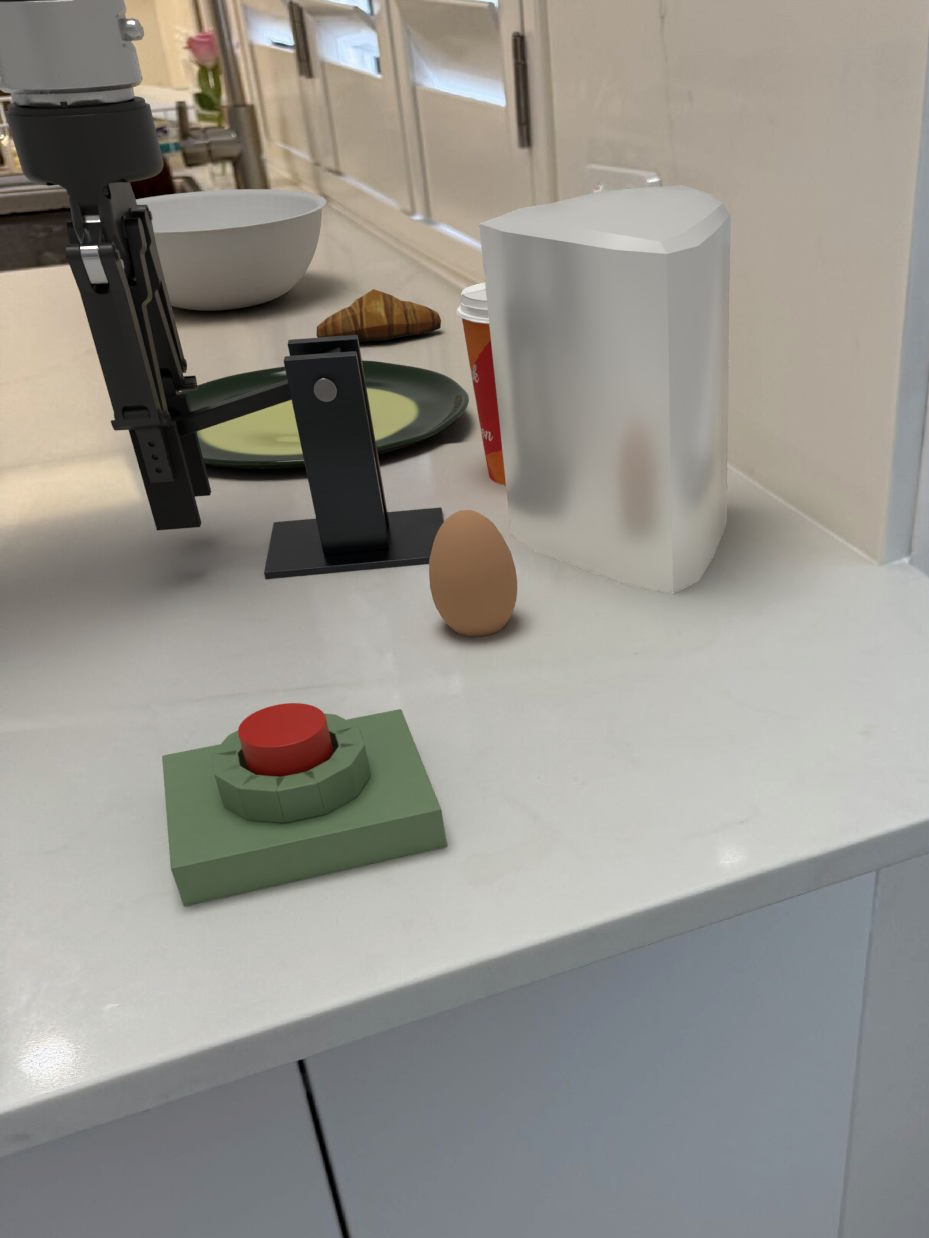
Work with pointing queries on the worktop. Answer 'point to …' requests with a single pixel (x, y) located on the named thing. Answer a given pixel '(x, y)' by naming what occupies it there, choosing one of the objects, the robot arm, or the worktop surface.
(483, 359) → the paper cup
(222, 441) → the plate
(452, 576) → the egg
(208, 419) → the lever
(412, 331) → the croissant
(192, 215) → the bowl
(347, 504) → the bracket
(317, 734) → the button
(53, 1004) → the worktop surface
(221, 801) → the control block
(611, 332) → the frosted triangular prism
